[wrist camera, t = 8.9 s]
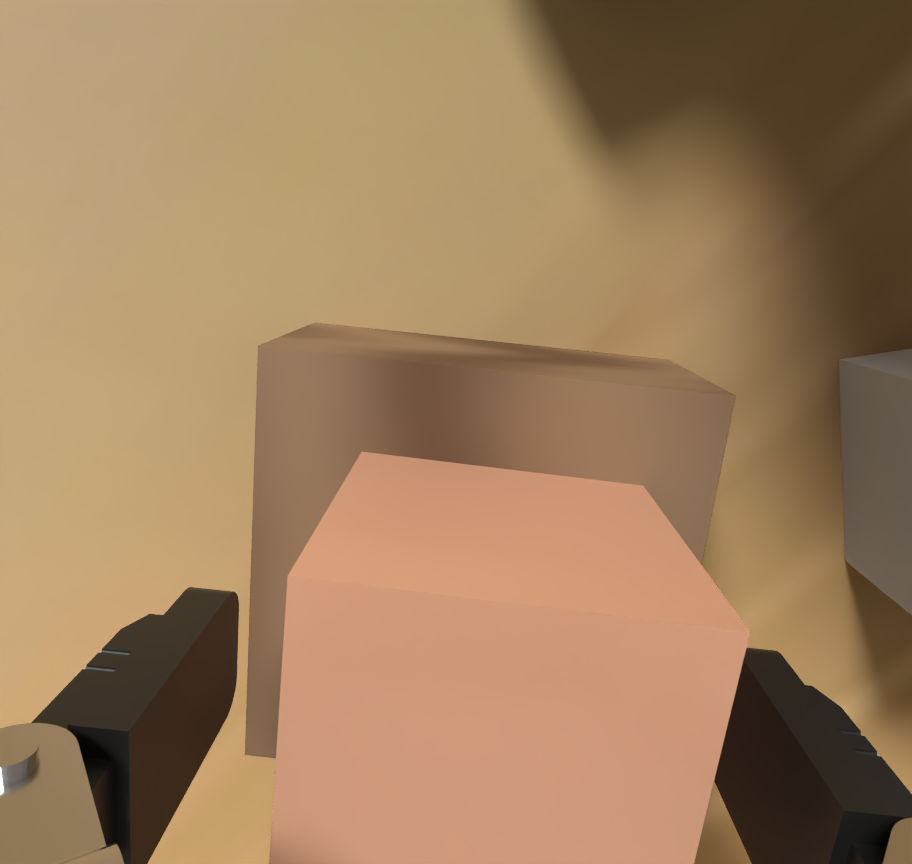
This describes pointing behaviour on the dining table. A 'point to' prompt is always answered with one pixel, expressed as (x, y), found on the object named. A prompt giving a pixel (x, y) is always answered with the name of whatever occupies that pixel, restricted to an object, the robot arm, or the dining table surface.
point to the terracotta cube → (498, 674)
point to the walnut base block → (456, 442)
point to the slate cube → (878, 469)
